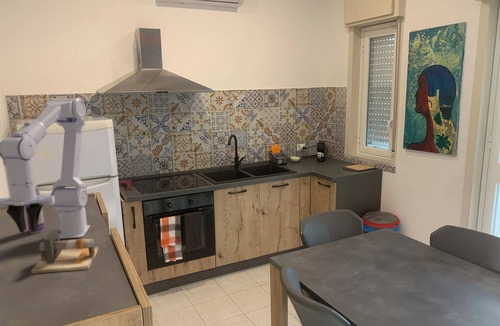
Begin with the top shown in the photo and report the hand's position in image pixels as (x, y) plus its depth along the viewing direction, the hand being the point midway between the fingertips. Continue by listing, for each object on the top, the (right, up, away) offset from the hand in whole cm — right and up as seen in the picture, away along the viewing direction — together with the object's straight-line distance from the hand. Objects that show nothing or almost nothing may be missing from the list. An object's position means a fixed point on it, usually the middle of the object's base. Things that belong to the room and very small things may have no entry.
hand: (28, 230), depth 100 cm
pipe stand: (+9, -9, +3) cm, 13 cm away
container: (-12, -5, +24) cm, 27 cm away
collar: (+5, -8, +3) cm, 10 cm away
